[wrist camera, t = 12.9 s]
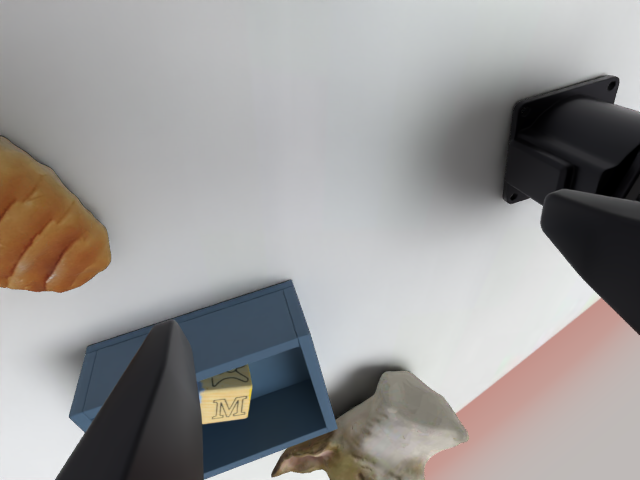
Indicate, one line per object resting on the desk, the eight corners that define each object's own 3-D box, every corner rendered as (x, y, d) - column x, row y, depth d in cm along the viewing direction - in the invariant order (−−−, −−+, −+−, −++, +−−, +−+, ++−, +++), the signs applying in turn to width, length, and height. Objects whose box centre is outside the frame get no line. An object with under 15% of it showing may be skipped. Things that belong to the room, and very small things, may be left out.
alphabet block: (196, 353, 25) (198, 394, 22) (246, 349, 26) (253, 388, 23) (194, 385, 26) (195, 427, 24) (242, 381, 27) (247, 420, 25)
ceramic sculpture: (520, 472, 28) (375, 562, 33) (459, 370, 35) (346, 457, 40) (435, 449, 22) (274, 562, 27) (381, 333, 29) (260, 439, 34)
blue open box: (291, 279, 24) (310, 333, 21) (319, 373, 30) (338, 429, 26) (86, 346, 23) (67, 417, 19) (158, 431, 29) (154, 499, 25)
